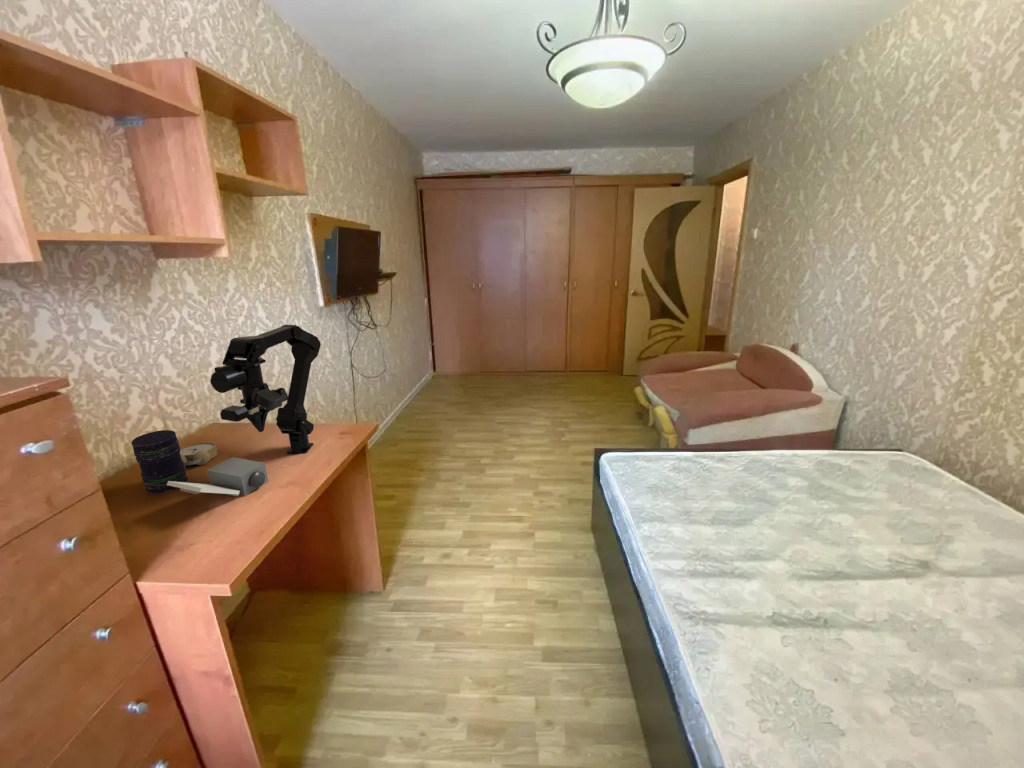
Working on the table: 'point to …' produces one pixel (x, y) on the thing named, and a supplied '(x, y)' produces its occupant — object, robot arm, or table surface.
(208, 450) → the alarm clock
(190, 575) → the table surface
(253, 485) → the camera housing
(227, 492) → the door
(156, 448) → the storage jar
